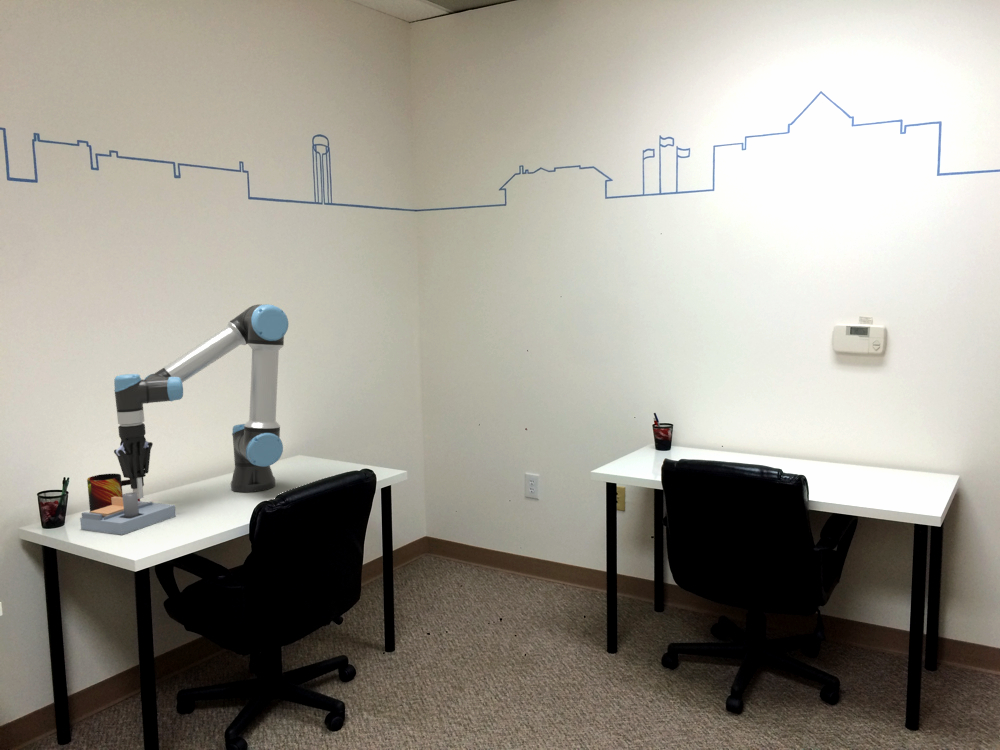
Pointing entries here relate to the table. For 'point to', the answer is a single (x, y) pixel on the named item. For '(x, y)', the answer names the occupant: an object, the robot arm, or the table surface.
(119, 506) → the lid
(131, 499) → the pin
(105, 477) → the mug
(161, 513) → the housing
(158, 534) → the table surface
